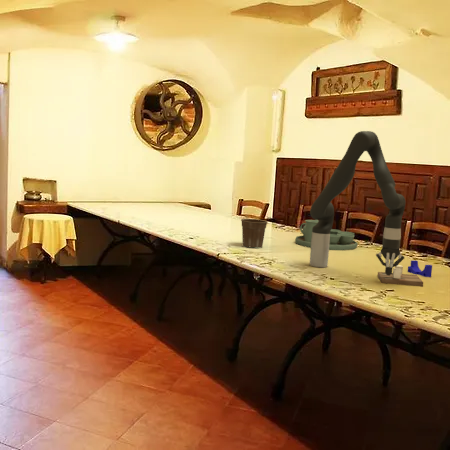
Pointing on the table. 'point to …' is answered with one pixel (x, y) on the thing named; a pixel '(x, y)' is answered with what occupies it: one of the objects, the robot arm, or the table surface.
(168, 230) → the table surface
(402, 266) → the tab
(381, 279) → the switch board
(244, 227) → the plant pot
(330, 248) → the green tea tray
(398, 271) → the tab
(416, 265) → the cable clip
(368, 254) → the table surface
